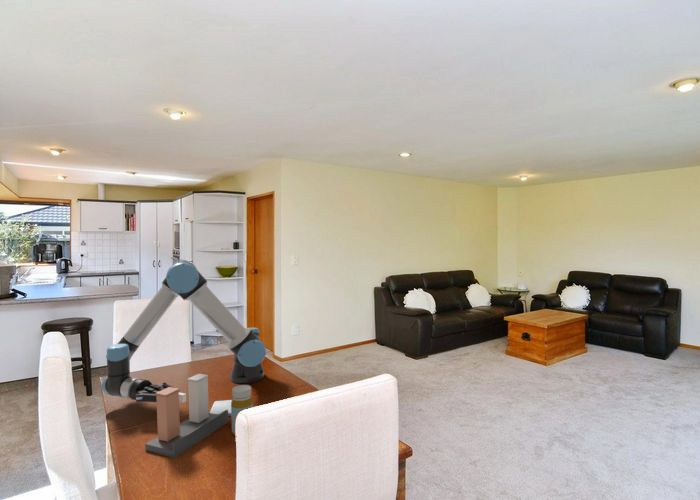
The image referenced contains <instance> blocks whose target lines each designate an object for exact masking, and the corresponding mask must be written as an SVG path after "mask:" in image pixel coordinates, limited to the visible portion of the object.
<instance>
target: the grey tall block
mask: <svg viewBox="0 0 700 500" xmlns="http://www.w3.org/2000/svg"><path fill="white" fill-rule="evenodd" d="M208 378H209V374H203V373H197V374H194V375H193V376H191V377H188V378H187V379H186V381H187V387H188V388H187V390H188V393H187V394H188V417H189V418H188V419H189V421H191V422H196V423H199V422H201V421H203V420H204V419H206V418H208V417H209V413H210V410H209V381H208V380H209V379H208Z"/></svg>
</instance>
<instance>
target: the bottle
mask: <svg viewBox="0 0 700 500" xmlns="http://www.w3.org/2000/svg"><path fill="white" fill-rule="evenodd" d="M231 397H232V399H231V400H232V402H231V416H230V417H231V434H232V435H233V436H235V419H236V416H237V414H238V413H239V412H240V411H242V410H244V409H248V408H251V407H253V408H254V401H253V398H252V386H251V385H249V384H240V385H236V386H234V387H232V390H231ZM235 437H236V436H235Z"/></svg>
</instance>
